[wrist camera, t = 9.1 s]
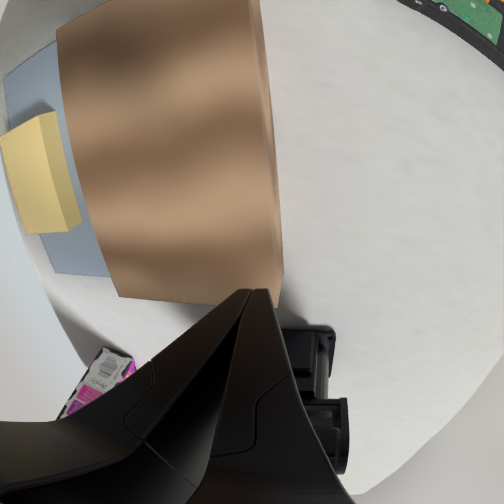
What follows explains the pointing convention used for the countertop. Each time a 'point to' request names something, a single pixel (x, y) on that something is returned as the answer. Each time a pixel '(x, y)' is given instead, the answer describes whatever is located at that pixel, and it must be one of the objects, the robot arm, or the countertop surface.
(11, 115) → the mat
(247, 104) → the deck
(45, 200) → the block
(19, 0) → the countertop surface
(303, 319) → the countertop surface
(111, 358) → the candy bar box
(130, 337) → the countertop surface
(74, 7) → the countertop surface
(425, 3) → the disk drive
